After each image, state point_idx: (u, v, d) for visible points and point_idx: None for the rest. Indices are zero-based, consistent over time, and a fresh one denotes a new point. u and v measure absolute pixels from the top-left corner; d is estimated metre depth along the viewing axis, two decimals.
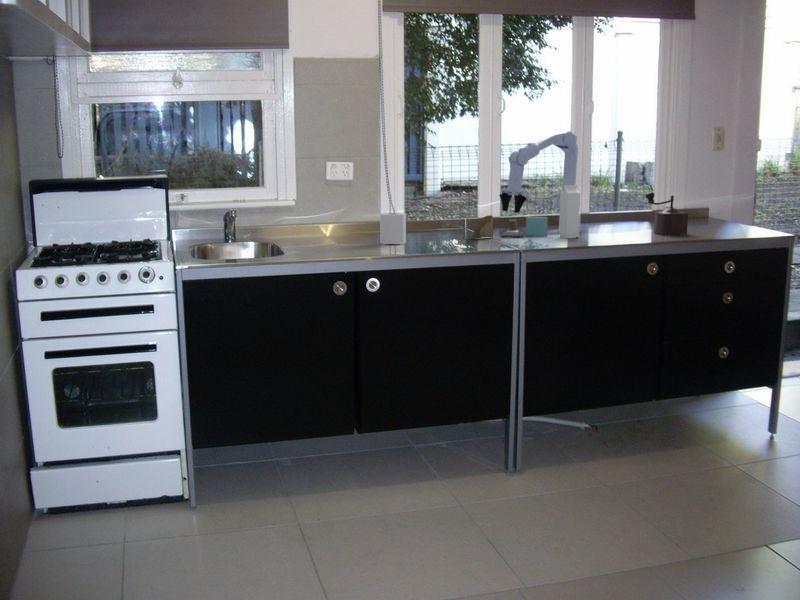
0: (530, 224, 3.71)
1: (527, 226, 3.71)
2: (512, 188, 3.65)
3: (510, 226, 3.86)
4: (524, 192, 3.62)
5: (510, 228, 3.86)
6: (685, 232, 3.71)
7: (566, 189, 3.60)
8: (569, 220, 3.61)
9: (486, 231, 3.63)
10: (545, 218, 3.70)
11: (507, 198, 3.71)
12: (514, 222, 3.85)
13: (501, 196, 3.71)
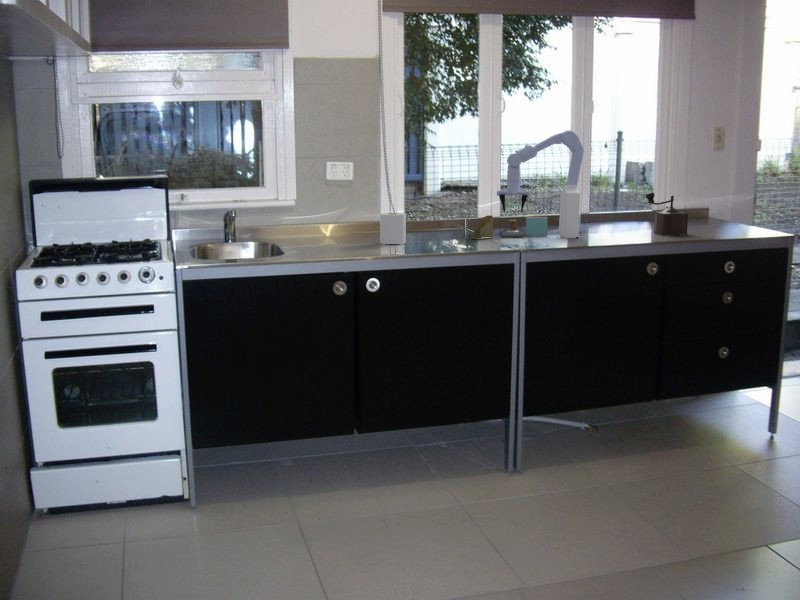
0: (530, 224, 3.71)
1: (527, 226, 3.71)
2: (516, 190, 3.82)
3: (510, 226, 3.86)
4: (529, 192, 3.83)
5: (510, 228, 3.86)
6: (685, 232, 3.71)
7: (566, 189, 3.60)
8: (569, 220, 3.61)
9: (486, 231, 3.63)
10: (545, 218, 3.70)
11: None
12: (514, 222, 3.85)
13: (502, 198, 3.84)
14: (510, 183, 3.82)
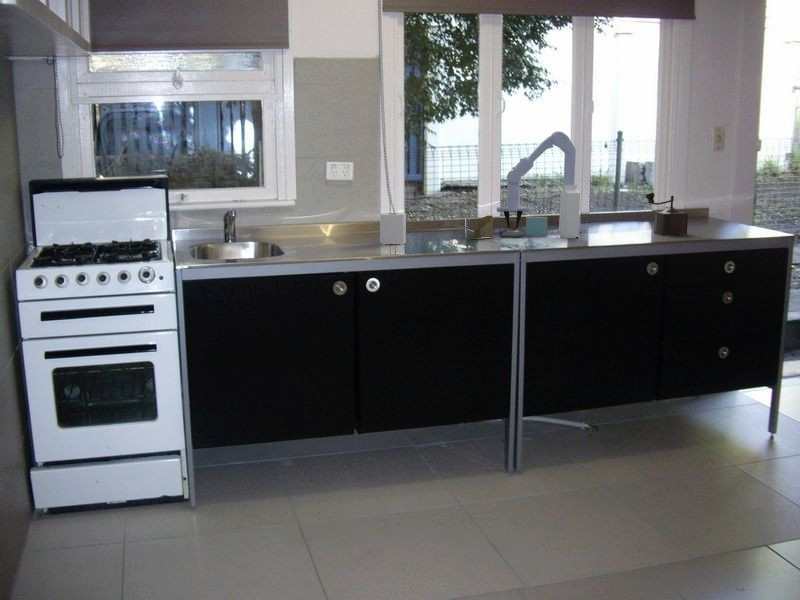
0: (530, 224, 3.71)
1: (527, 226, 3.71)
2: (516, 206, 3.84)
3: (510, 226, 3.86)
4: (529, 208, 3.85)
5: (510, 228, 3.86)
6: (685, 232, 3.71)
7: (566, 189, 3.60)
8: (569, 220, 3.61)
9: (486, 231, 3.63)
10: (545, 218, 3.70)
11: None
12: (514, 222, 3.85)
13: (507, 215, 3.85)
14: (510, 200, 3.83)
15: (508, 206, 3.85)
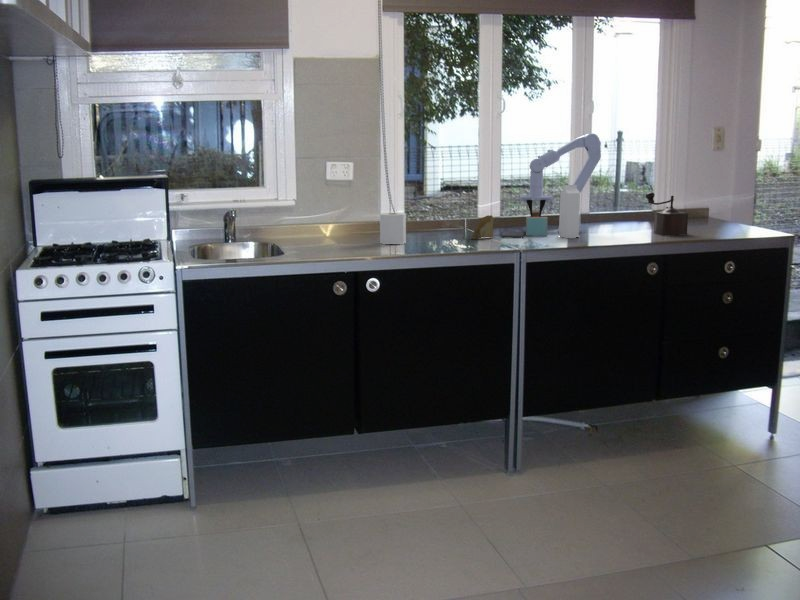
0: (530, 224, 3.71)
1: (527, 226, 3.71)
2: (539, 195, 3.81)
3: None
4: (552, 197, 3.83)
5: None
6: (685, 232, 3.71)
7: (566, 189, 3.60)
8: (569, 220, 3.61)
9: (486, 231, 3.63)
10: (545, 218, 3.70)
11: None
12: (537, 214, 3.83)
13: (530, 204, 3.83)
14: (533, 188, 3.81)
15: (531, 195, 3.82)
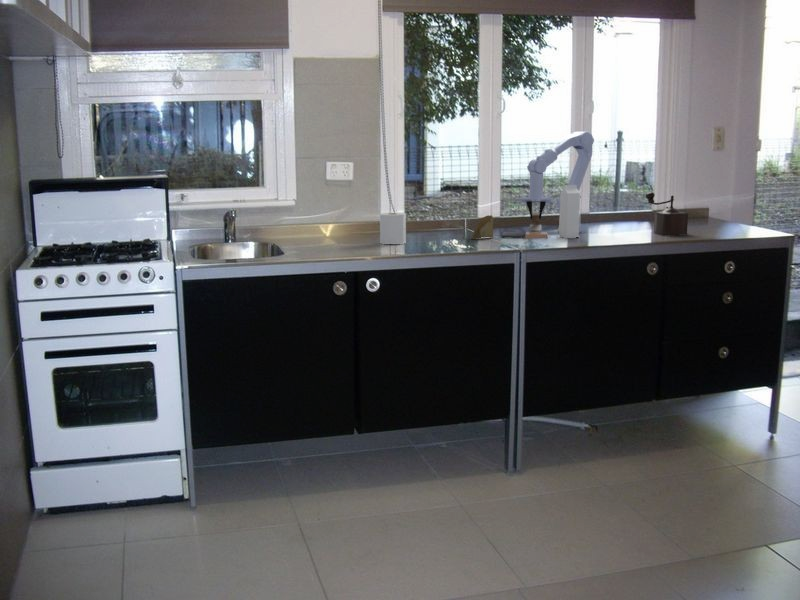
0: None
1: None
2: (539, 196, 3.74)
3: (533, 220, 3.77)
4: None
5: (533, 222, 3.77)
6: (685, 232, 3.71)
7: (566, 189, 3.60)
8: (569, 220, 3.61)
9: (486, 231, 3.63)
10: None
11: None
12: (537, 216, 3.76)
13: (529, 205, 3.75)
14: (533, 190, 3.73)
15: (531, 196, 3.75)
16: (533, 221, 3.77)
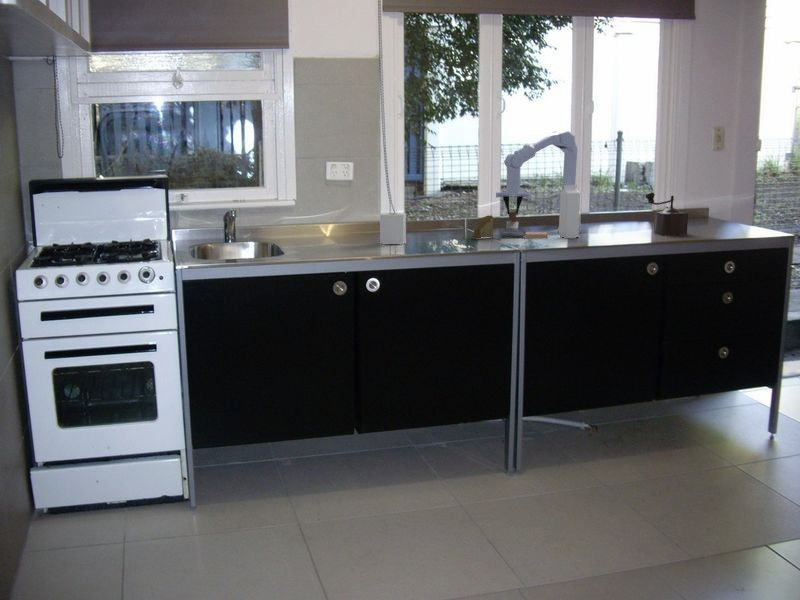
0: None
1: None
2: (516, 191, 3.70)
3: (510, 217, 3.73)
4: None
5: (510, 219, 3.73)
6: (685, 232, 3.71)
7: (566, 189, 3.60)
8: (569, 220, 3.61)
9: (486, 231, 3.63)
10: None
11: None
12: (514, 213, 3.72)
13: (506, 200, 3.71)
14: (510, 184, 3.69)
15: (508, 191, 3.71)
16: (510, 218, 3.73)
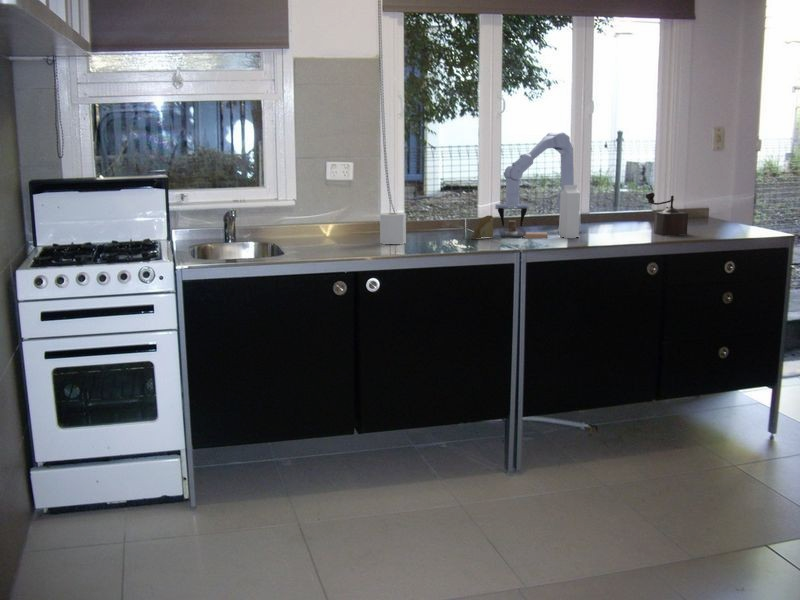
0: None
1: None
2: (516, 203, 3.71)
3: (509, 227, 3.74)
4: None
5: (509, 229, 3.74)
6: (685, 232, 3.71)
7: (566, 189, 3.60)
8: (569, 220, 3.61)
9: (486, 231, 3.63)
10: None
11: None
12: (513, 223, 3.73)
13: (501, 212, 3.72)
14: (509, 196, 3.70)
15: (507, 203, 3.71)
16: (509, 228, 3.74)
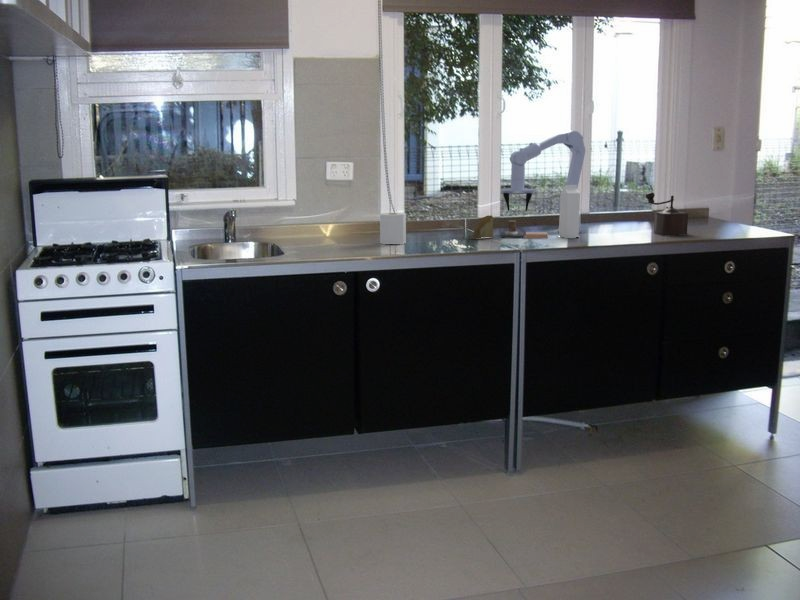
0: None
1: None
2: (521, 188, 3.75)
3: (509, 227, 3.74)
4: (534, 190, 3.77)
5: (509, 229, 3.74)
6: (685, 232, 3.71)
7: (566, 189, 3.60)
8: (569, 220, 3.61)
9: (486, 231, 3.63)
10: None
11: None
12: (513, 223, 3.73)
13: (506, 197, 3.77)
14: (514, 181, 3.75)
15: (512, 188, 3.76)
16: (509, 228, 3.74)
